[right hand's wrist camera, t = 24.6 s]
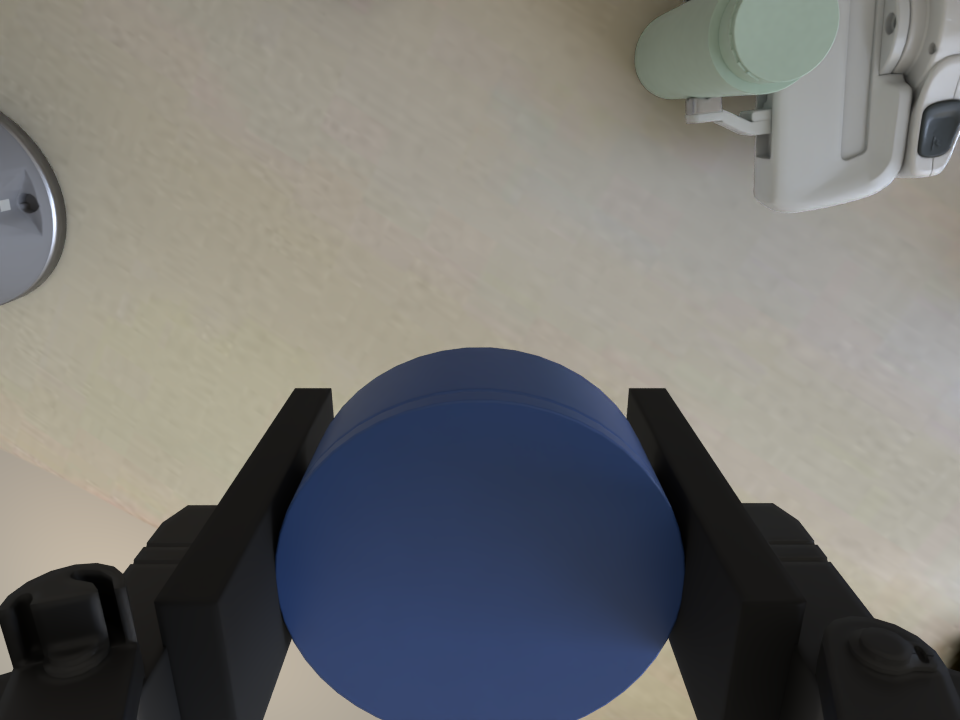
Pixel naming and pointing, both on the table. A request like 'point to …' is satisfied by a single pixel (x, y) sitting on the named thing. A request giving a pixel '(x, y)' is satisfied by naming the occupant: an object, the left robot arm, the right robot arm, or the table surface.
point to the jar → (734, 46)
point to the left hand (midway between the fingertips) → (687, 51)
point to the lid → (480, 544)
